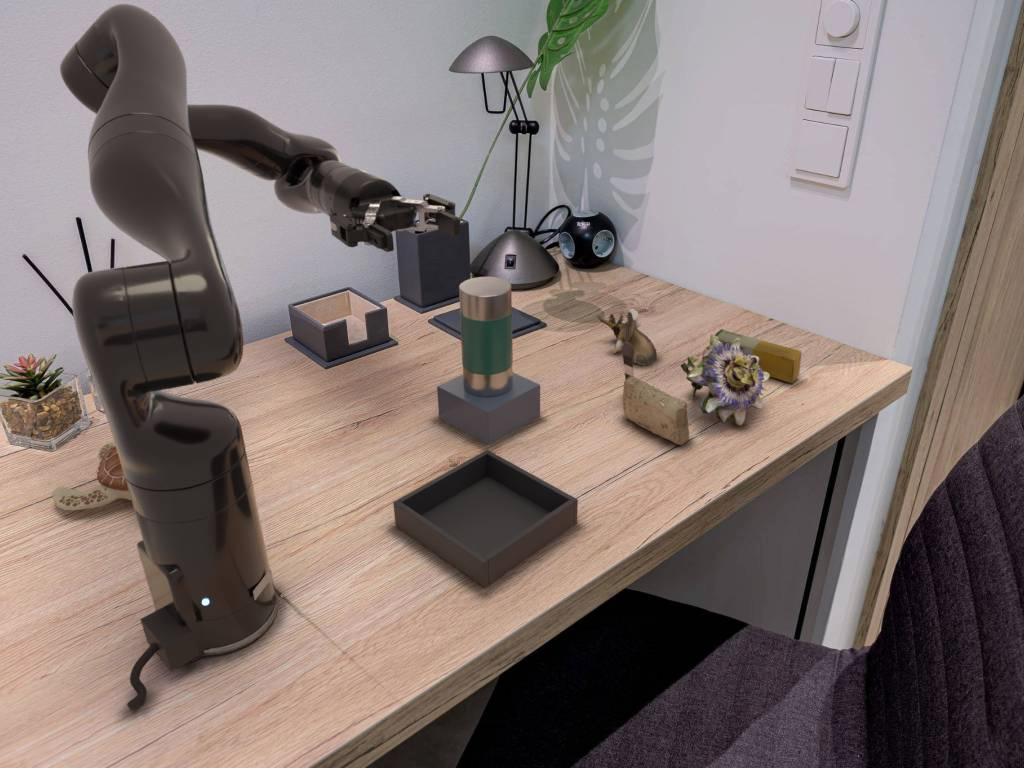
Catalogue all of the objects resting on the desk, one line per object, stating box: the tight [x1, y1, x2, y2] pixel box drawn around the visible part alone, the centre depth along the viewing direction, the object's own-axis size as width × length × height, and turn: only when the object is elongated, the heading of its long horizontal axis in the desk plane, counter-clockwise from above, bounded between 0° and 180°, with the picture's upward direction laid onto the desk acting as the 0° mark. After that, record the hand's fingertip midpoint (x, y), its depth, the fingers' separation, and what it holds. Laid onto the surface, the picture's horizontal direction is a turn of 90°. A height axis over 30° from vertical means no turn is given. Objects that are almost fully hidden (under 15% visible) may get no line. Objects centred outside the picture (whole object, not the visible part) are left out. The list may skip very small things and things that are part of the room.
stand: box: [436, 371, 541, 446], centre depth 102 cm, size 9×9×5 cm
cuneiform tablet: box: [622, 353, 690, 446], centre depth 100 cm, size 7×4×12 cm
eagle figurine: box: [596, 308, 658, 367], centre depth 118 cm, size 8×7×9 cm
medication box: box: [713, 329, 803, 384], centre depth 113 cm, size 12×3×4 cm, turn 50°
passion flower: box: [680, 334, 770, 427], centre depth 103 cm, size 11×11×12 cm
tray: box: [392, 449, 579, 589], centre depth 84 cm, size 13×13×4 cm
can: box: [458, 276, 514, 397], centre depth 98 cm, size 6×6×13 cm
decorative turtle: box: [52, 442, 132, 511], centre depth 91 cm, size 18×17×5 cm
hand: (424, 235), depth 92 cm, fingers open, 8 cm apart
